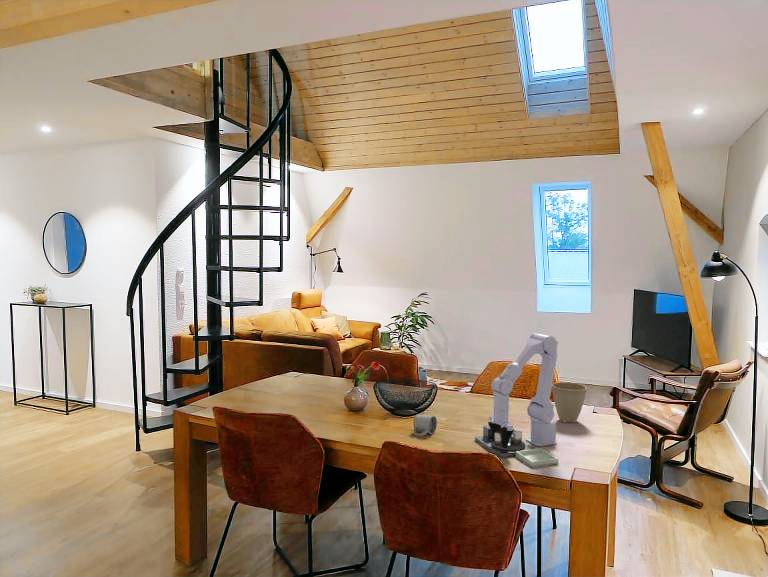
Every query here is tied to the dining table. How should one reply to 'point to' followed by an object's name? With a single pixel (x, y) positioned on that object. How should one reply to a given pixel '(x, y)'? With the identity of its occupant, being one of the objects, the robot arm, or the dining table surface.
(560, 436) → the dining table surface
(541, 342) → the robot arm
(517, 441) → the spacer
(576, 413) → the plant pot
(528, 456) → the tray
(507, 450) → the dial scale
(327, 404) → the dining table surface
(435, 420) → the ceramic mug
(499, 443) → the cylinder
